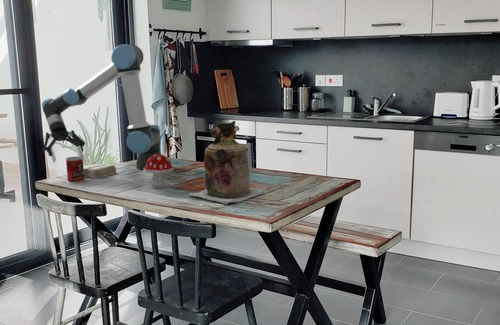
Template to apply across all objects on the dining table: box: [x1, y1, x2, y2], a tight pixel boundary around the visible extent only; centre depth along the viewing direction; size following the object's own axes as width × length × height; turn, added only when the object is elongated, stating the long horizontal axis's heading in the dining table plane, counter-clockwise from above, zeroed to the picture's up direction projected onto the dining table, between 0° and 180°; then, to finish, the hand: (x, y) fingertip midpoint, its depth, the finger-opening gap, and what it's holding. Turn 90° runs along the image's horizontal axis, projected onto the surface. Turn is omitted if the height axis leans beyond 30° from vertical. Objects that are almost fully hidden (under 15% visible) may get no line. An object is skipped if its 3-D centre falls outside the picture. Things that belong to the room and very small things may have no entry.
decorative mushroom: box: [143, 153, 175, 189], centre depth 242 cm, size 14×14×15 cm
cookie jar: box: [188, 120, 267, 205], centre depth 224 cm, size 25×25×32 cm
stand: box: [83, 163, 117, 179], centre depth 271 cm, size 14×14×4 cm
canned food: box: [65, 156, 85, 183], centre depth 258 cm, size 8×8×11 cm
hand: (68, 159), depth 260 cm, fingers open, 13 cm apart
